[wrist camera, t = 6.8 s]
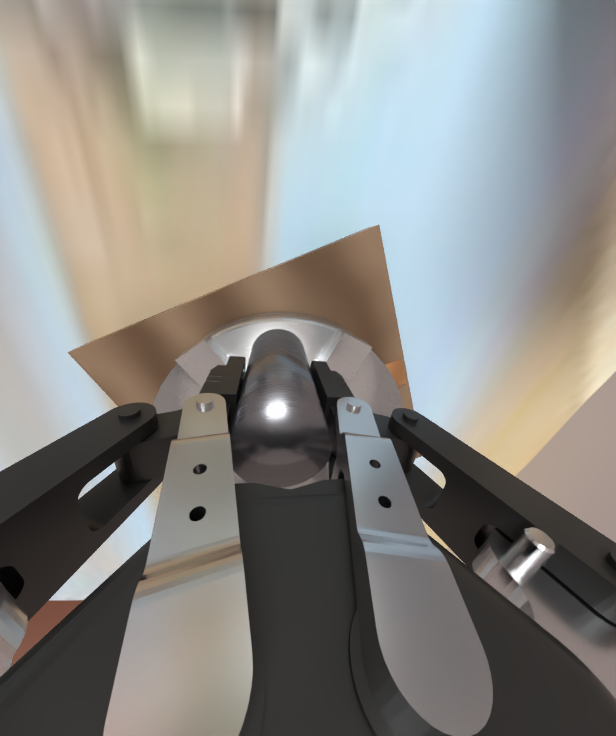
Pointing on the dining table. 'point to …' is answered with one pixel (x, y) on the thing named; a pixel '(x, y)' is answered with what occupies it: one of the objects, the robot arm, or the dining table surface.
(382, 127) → the dining table surface
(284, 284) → the brown wooden board
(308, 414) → the silver round piece
